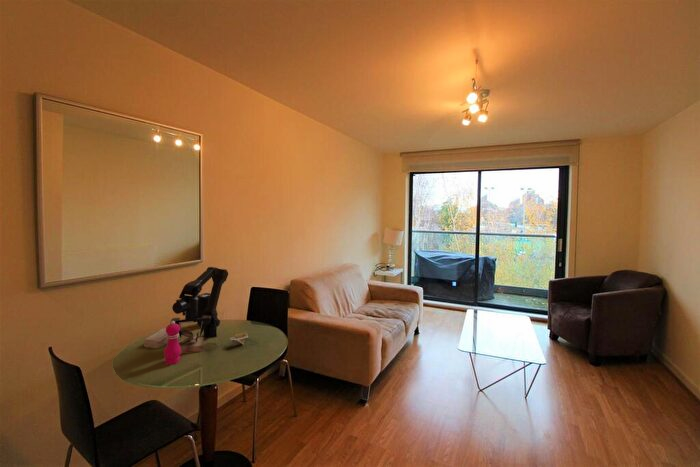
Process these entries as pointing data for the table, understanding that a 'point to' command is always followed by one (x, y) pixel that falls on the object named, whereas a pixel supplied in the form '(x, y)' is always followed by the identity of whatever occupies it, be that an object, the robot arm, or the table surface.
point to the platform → (239, 339)
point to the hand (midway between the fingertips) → (190, 336)
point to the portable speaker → (202, 305)
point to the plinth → (191, 345)
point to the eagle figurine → (188, 334)
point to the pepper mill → (172, 344)
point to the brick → (156, 339)
